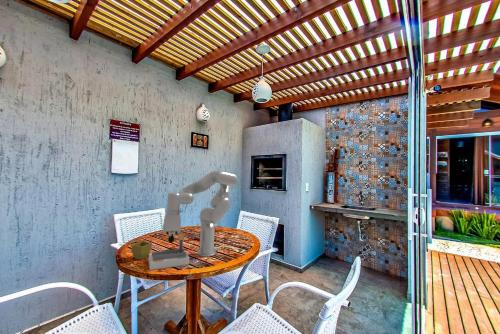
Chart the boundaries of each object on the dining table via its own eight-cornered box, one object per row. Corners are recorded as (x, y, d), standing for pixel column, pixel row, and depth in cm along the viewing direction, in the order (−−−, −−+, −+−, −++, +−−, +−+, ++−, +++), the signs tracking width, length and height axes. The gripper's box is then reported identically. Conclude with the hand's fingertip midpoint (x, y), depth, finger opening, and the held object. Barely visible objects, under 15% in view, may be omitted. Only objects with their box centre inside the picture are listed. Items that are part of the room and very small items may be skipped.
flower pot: (141, 254, 147) (142, 241, 148) (151, 256, 144) (152, 243, 145) (130, 259, 139) (130, 244, 140) (140, 261, 136) (141, 246, 136)
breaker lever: (182, 252, 142) (183, 233, 143) (184, 255, 137) (185, 235, 138) (176, 253, 140) (177, 233, 141) (177, 256, 135) (178, 236, 136)
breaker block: (184, 256, 147) (185, 246, 147) (189, 264, 134) (189, 253, 135) (148, 261, 136) (149, 251, 137) (149, 270, 124) (150, 258, 124)
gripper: (183, 211, 144) (182, 239, 143) (159, 212, 137) (157, 241, 136) (186, 213, 137) (184, 242, 136) (160, 213, 130) (158, 245, 129)
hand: (171, 242), depth 136 cm, fingers closed
